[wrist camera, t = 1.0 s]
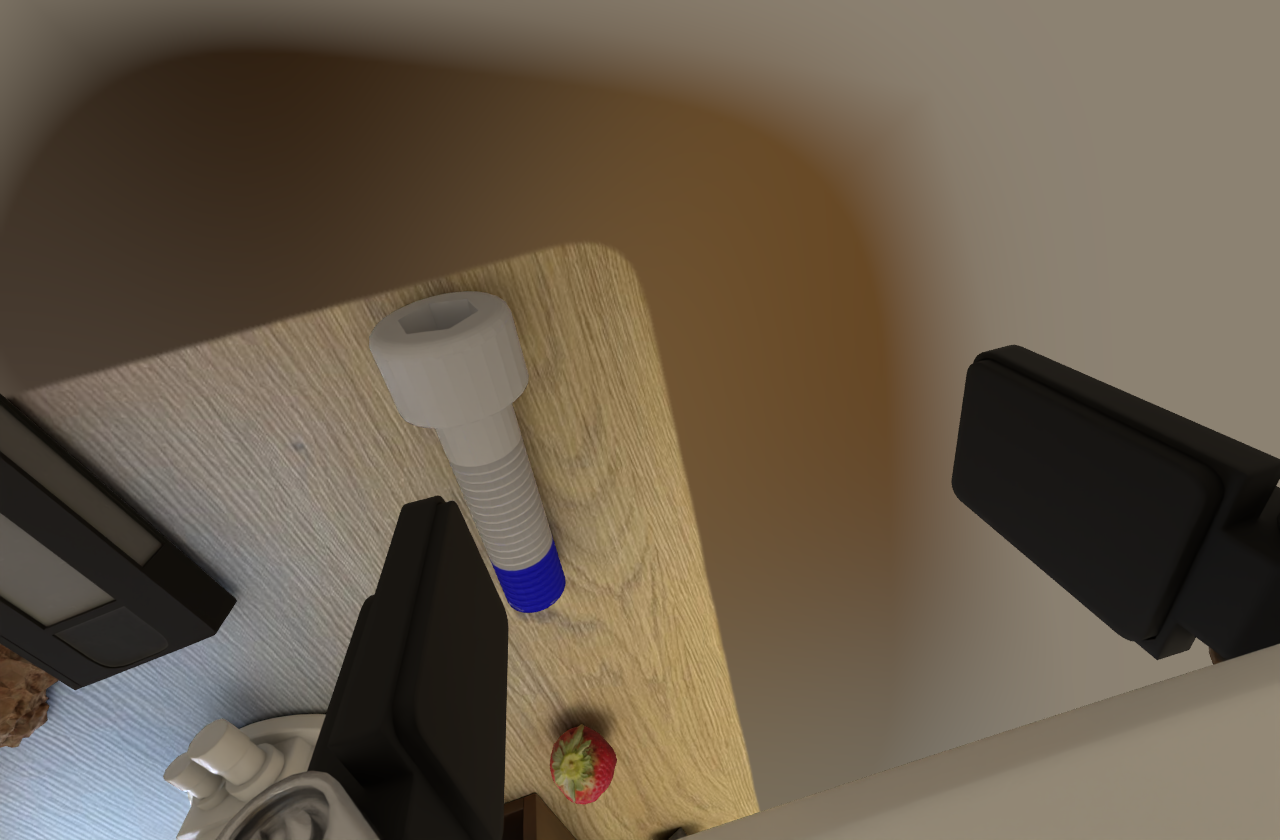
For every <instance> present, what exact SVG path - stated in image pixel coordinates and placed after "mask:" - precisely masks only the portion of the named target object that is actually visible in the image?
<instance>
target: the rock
mask: <svg viewBox="0 0 1280 840" xmlns="http://www.w3.org/2000/svg"><path fill="white" fill-rule="evenodd" d="M57 681H58V679H56V678H55V677H53V676H51V675H50V674H48V673H47V672H45V671H43V670H42V669H40V668H39V667H37V666H35V665H34V664H32V663H30V662H29V661H27V660H26V659H24V658H22V657H21V656H19V655H18V654H16V653H14V652H13V651H11V650H10V649H8V648H6V647H5V646H3V645H2V644H0V747H4V746H8V747H12V748H13V747H18V746H19V744H20V742H21V740H22V738H26V737H29V736H30V735H31V734H32V733H33V732H34V731H35V729H37V728H39V727H40V726H42V725H43V724H44V723H45V722H46V721H47V720H48V719H47V710H48V708H49V705H48V704H47V703H46V702H45V701H47V700H48V699H49V698H48V697H47V696H46V695H45V694H46V689H47V688H48V687H50V686H51V685H52V684H54V683H55V682H57Z"/></svg>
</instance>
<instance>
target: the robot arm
mask: <svg viewBox="0 0 1280 840" xmlns="http://www.w3.org/2000/svg"><path fill="white" fill-rule="evenodd" d="M1279 479H1280V459H1278V458H1276V457H1273V456H1271V455H1269V454H1267V453H1264V452H1262V451H1260V450H1257V449H1255V448H1252V447H1250V446H1248V445H1246V444H1244V443H1241V442H1239V441H1237V440H1235V439H1232V438H1230V437H1228V436H1225V435H1223V434H1220V433H1218V432H1216V431H1214V430H1212V429H1209V428H1207V427H1205V426H1202V425H1200V424H1198V423H1195V422H1193V421H1191V420H1189V419H1186V418H1184V417H1182V416H1179V415H1177V414H1175V413H1173V412H1170V411H1168V410H1166V409H1163V408H1161V407H1159V406H1156V405H1154V404H1152V403H1150V402H1147V401H1145V400H1143V399H1140V398H1138V397H1136V396H1134V395H1131V394H1129V393H1127V392H1124V391H1122V390H1120V389H1118V388H1115V387H1113V386H1111V385H1108V384H1106V383H1104V382H1101V381H1099V380H1097V379H1095V378H1092V377H1090V376H1088V375H1085V374H1083V373H1081V372H1079V371H1076V370H1074V369H1072V368H1069V367H1067V366H1065V365H1062V364H1060V363H1058V362H1056V361H1053V360H1051V359H1049V358H1046V357H1044V356H1042V355H1039V354H1037V353H1035V352H1033V351H1030V350H1028V349H1026V348H1023V347H1021V346H1017V345H1009V346H1005V347H1002V348H998V349H994V350H990V351H986V352H982V353H981V354H979V355H977V357H976V358H975V360H974V362H973V364H971V365H970V366H969V368H968V371H967V376H966V383H965V390H964V397H963V404H962V411H961V418H960V425H959V432H958V439H957V447H956V453H955V461H954V467H953V474H952V488H953V490H954V493H955V495H956V496H957V498H958V499H959V500H960V501H961V502H963V503H964V504H965V505H966V506H967V507H969V508H970V509H971V510H972V511H973V512H974V513H976V514H977V515H978V516H979V517H980V518H981V519H983V520H984V521H985V522H986V523H987V524H989V525H990V526H991V527H992V528H993V529H994V530H996V531H997V532H998V533H999V534H1000V535H1002V536H1003V537H1004V538H1005V539H1006V540H1007V541H1009V542H1010V543H1011V544H1012V545H1013V546H1014V547H1016V548H1017V549H1018V550H1019V551H1020V552H1022V553H1023V554H1024V555H1025V556H1026V557H1028V558H1029V559H1030V560H1031V561H1032V562H1033V563H1035V564H1036V565H1037V566H1038V567H1039V568H1040V569H1042V570H1043V571H1044V572H1045V573H1046V574H1048V575H1049V576H1050V577H1051V578H1053V580H1055V581H1056V582H1057V583H1058V584H1059V585H1061V586H1062V587H1063V588H1064V589H1065V590H1066V591H1068V592H1069V593H1070V594H1071V595H1072V596H1074V597H1075V598H1076V599H1077V600H1078V601H1079V602H1081V603H1082V604H1083V605H1084V606H1085V607H1087V608H1088V609H1089V610H1090V611H1091V612H1092V613H1094V614H1095V615H1096V616H1097V617H1098V618H1099V619H1101V620H1102V621H1103V622H1104V623H1106V624H1107V625H1108V626H1109V627H1110V628H1111V629H1112V630H1114V631H1115V632H1116V633H1117V634H1119V635H1120V636H1122V637H1123V638H1125V639H1127V640H1130V641H1135V642H1136V643H1137V644H1138V645H1140V646H1141V647H1142V648H1143V649H1144V650H1146V651H1147V652H1148V653H1149V654H1150V655H1152V656H1153V657H1154V658H1155V659H1156V660H1159V659H1162V658H1165V657H1168V656H1171V655H1174V654H1178V653H1181V652H1184V651H1187V650H1189V649H1190V648H1191V645H1192V643H1193V642H1194V640H1195V638H1196V637H1197V638H1198V639H1199V640H1201V641H1202V642H1203V643H1205V644H1206V645H1207V646H1209V654H1210V657H1211V660H1212V663H1213V665H1211V666H1208V667H1205V668H1202V669H1199V670H1195V671H1192V672H1189V673H1186V674H1183V675H1180V676H1177V677H1173V678H1170V679H1167V680H1164V681H1161V682H1158V683H1154V684H1151V685H1148V686H1145V687H1142V688H1139V689H1136V690H1132V691H1129V692H1126V693H1123V694H1120V695H1117V696H1114V697H1111V698H1107V699H1105V700H1101V701H1098V702H1095V703H1092V704H1089V705H1086V706H1083V707H1080V708H1076V709H1073V710H1071V711H1067V712H1064V713H1061V714H1058V715H1055V716H1052V717H1049V718H1046V719H1043V720H1039V721H1036V722H1033V723H1030V724H1027V725H1024V726H1021V727H1018V728H1015V729H1012V730H1008V731H1005V732H1002V733H999V734H996V735H993V736H990V737H987V738H984V739H981V740H978V741H975V742H972V743H969V744H965V745H962V746H959V747H956V748H953V749H950V750H947V751H944V752H941V753H938V754H935V755H932V756H929V757H926V758H922V759H919V760H916V761H913V762H910V763H907V764H904V765H901V766H898V767H895V768H892V769H889V770H885V771H882V772H879V773H877V774H873V775H870V776H868V777H864V778H861V779H859V780H855V781H852V782H849V783H846V784H843V785H840V786H837V787H834V788H831V789H828V790H825V791H822V792H819V793H816V794H813V795H810V796H807V797H804V798H801V799H798V800H795V801H792V802H789V803H786V804H783V805H780V806H777V807H774V808H770V809H767V810H764V811H761V812H758V813H755V814H752V815H749V816H746V817H743V818H740V819H737V820H734V821H731V822H728V823H725V824H722V825H719V826H716V827H713V828H710V829H707V830H704V831H701V832H698V833H695V834H692V835H689V836H686V837H683V838H680V839H677V840H1280V488H1279V487H1277V486H1276V485H1277V483H1278V481H1279ZM507 666H508V619H507V614H506V611H505V608H504V605H503V603H502V601H501V599H500V597H499V594H498V592H497V590H496V588H495V586H494V584H493V581H492V579H491V577H490V575H489V573H488V570H487V568H486V566H485V564H484V562H483V559H482V557H481V555H480V553H479V551H478V548H477V546H476V544H475V542H474V540H473V537H472V535H471V533H470V531H469V529H468V526H467V524H466V522H465V520H464V518H463V515H462V513H461V511H460V509H459V507H458V505H457V503H456V502H455V501H449V502H445V501H444V499H443V498H442V497H441V496H434V497H430V498H427V499H423V500H419V501H415V502H411V503H408V504H405V505H403V507H402V509H401V512H400V515H399V519H398V522H397V525H396V528H395V531H394V534H393V538H392V541H391V544H390V547H389V550H388V554H387V557H386V560H385V563H384V566H383V569H382V573H381V576H380V579H379V582H378V585H377V589H376V592H375V595H371V596H370V597H368V598H367V599H366V600H365V602H364V604H363V606H362V608H361V611H360V614H359V617H358V620H357V623H356V626H355V629H354V632H353V635H352V638H351V641H350V644H349V647H348V650H347V653H346V656H345V659H344V662H343V665H342V668H341V671H340V674H339V677H338V680H337V683H336V686H335V689H334V692H333V695H332V698H331V701H330V704H329V707H328V710H327V713H326V714H300V715H290V716H283V717H276V718H271V719H268V720H264V721H260V722H256V723H253V724H250V725H248V726H245V727H243V728H240V729H238V728H236V727H235V726H234V725H232V724H231V723H230V722H228V721H227V720H225V719H223V718H222V719H218V720H215V721H213V722H211V723H210V724H208V725H207V726H205V727H204V728H203V729H202V730H201V731H200V732H199V733H198V734H197V735H196V736H195V737H194V739H193V740H192V742H191V743H190V745H189V748H188V751H187V752H185V753H183V754H182V755H180V756H178V757H177V758H176V759H175V760H174V761H173V762H171V764H170V765H169V766H168V768H167V769H166V770H165V773H164V776H163V777H164V779H165V781H167V782H168V783H170V784H172V785H173V786H175V787H177V788H178V789H180V790H181V791H186V792H188V798H189V801H190V803H191V808H190V810H189V812H188V814H187V816H186V818H185V820H184V823H183V825H182V827H181V829H180V831H179V833H178V835H177V837H176V838H177V839H178V840H502V835H503V824H504V784H505V745H506V705H507Z"/></svg>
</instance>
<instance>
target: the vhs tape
mask: <svg viewBox="0 0 1280 840" xmlns="http://www.w3.org/2000/svg"><path fill="white" fill-rule="evenodd" d="M236 602H237V600H236V599H235V598H234V597H233V596H232V595H231V594H230V593H229V592H227V591H226V590H225V589H224V588H223V587H222V586H221V585H219V584H218V583H217V582H216V581H215V580H214V579H212V578H211V577H210V576H209V575H208V574H207V573H206V572H204V571H203V570H202V569H201V568H200V567H199V566H198V565H196V564H195V563H194V562H193V561H192V560H191V559H190V558H188V557H187V556H186V555H185V554H184V553H183V552H181V551H180V550H179V549H178V548H177V547H176V546H175V545H173V544H172V543H171V542H170V541H169V540H168V539H167V538H165V537H164V536H163V535H162V534H161V533H160V532H159V531H157V530H156V529H155V528H154V527H153V526H152V525H150V524H149V523H148V522H147V521H146V520H145V519H144V518H142V517H141V516H140V515H139V514H138V513H137V512H136V511H134V510H133V509H132V508H131V507H130V506H129V505H128V504H126V503H125V502H124V501H123V500H122V499H121V498H120V497H118V496H117V495H116V494H115V493H114V492H113V491H111V490H110V489H109V488H108V487H107V486H106V485H105V484H103V483H102V482H101V481H100V480H99V479H98V478H97V477H95V476H94V475H93V474H92V473H91V472H90V471H89V470H87V469H86V468H85V467H84V466H83V465H82V464H80V463H79V462H78V461H77V460H76V459H75V458H74V457H72V456H71V455H70V454H69V453H68V452H67V451H66V450H64V449H63V448H62V447H61V446H60V445H59V444H58V443H56V442H55V441H54V440H53V439H52V438H51V437H50V436H48V435H47V434H46V433H45V432H44V431H43V430H41V429H40V428H39V427H38V426H37V425H36V424H35V423H33V422H32V421H31V420H30V419H29V418H28V417H27V416H25V415H24V414H23V413H22V412H21V411H20V410H19V409H17V408H16V407H15V406H14V405H13V404H12V403H10V402H9V401H8V400H7V399H6V398H5V397H4V396H2V395H1V394H0V644H2V645H3V646H5V647H6V648H8V649H10V650H11V651H13V652H14V653H16V654H18V655H19V656H21V657H22V658H24V659H26V660H27V661H29V662H30V663H32V664H34V665H35V666H37V667H39V668H40V669H42V670H43V671H45V672H47V673H48V674H50V675H51V676H53V677H55V678H56V679H58V680H59V681H61V682H63V683H64V684H66V685H67V686H69V687H71V688H72V689H74V690H77V689H79V688H82V687H85V686H87V685H90V684H93V683H95V682H98V681H100V680H103V679H106V678H108V677H111V676H113V675H116V674H118V673H121V672H123V671H126V670H128V669H131V668H134V667H136V666H139V665H141V664H144V663H146V662H149V661H151V660H154V659H156V658H159V657H161V656H164V655H166V654H169V653H172V652H174V651H177V650H179V649H182V648H184V647H187V646H189V645H192V644H194V643H197V642H199V641H201V640H204V639H206V638H209V637H211V636H214V635H215V634H216V633H217V631H218V630H219V628H220V626H221V625H222V623H223V622H224V620H225V619H226V617H227V616H228V614H229V613H230V611H231V610H232V608H233V607H234V605H235V604H236Z"/></svg>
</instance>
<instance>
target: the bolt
mask: <svg viewBox="0 0 1280 840" xmlns="http://www.w3.org/2000/svg"><path fill="white" fill-rule="evenodd" d="M369 348H370V351H371V353H372V355H373V357H374V359H375V361H376V364H377V366H378V368H379V370H380V372H381V375H382V377H383V379H384V381H385V383H386V385H387V388H388V390H389V392H390V394H391V396H392V398H393V401H394V403H395V405H396V407H397V409H398V412H399V414H400V415H401V417H402V418H403V419H404V420H405V421H406V422H408V423H410V424H412V425H415V426H419V427H423V428H435V430H436V432H437V435H438V437H439V440H440V442H441V444H442V447H443V449H444V451H445V454H446V456H447V458H448V459H449V463H450V466H451V467H452V469H453V473H454V475H455V476H456V479H457V482H458V484H459V486H460V489H461V491H462V493H463V496H464V499H465V500H466V503H467V506H468V507H469V510H470V513H471V515H472V517H473V520H474V522H475V524H476V528H477V529H478V532H479V535H480V536H481V539H482V542H483V543H484V546H485V549H486V550H487V554H488V556H489V558H490V561H491V562H492V565H493V568H494V569H495V573H496V575H497V577H498V580H499V581H500V585H501V587H502V589H503V592H504V593H505V596H506V598H507V601H508V603H509V604H510V606H511V607H512V608H514V609H515V610H517V611H520V612H523V613H533V612H538V611H541V610H544V609H546V608H548V607H549V606H551V605H552V604H554V603H555V602H556V601H557V600H558V599H559V598H560V596H561V594H562V593H563V591H564V588H565V584H566V583H565V576H564V572H563V570H562V566H561V563H560V559H559V557H558V553H557V549H556V546H555V543H554V540H553V536H552V533H551V529H550V527H549V523H548V520H547V516H546V514H545V510H544V507H543V505H542V500H541V498H540V494H539V491H538V487H537V485H536V480H535V478H534V476H533V471H532V469H531V464H530V462H529V457H528V455H527V452H526V448H525V445H524V443H523V438H522V436H521V431H520V428H519V425H518V421H517V418H516V415H515V411H514V408H513V405H512V403H513V402H514V401H515V400H516V399H517V398H518V397H519V396H520V395H521V394H522V393H523V392H524V390H525V388H526V386H527V384H528V378H529V375H528V371H527V367H526V364H525V360H524V356H523V353H522V349H521V345H520V342H519V338H518V334H517V331H516V327H515V323H514V320H513V316H512V312H511V310H510V308H509V306H508V305H507V303H506V302H505V301H504V300H502V299H501V298H499V297H498V296H495V295H492V294H489V293H485V292H477V291H464V292H453V293H447V294H441V295H436V296H432V297H428V298H425V299H422V300H419V301H416V302H413V303H411V304H408V305H406V306H404V307H402V308H400V309H398V310H396V311H394V312H392V313H391V314H389V315H387V316H386V317H384V318H383V319H382V320H381V321H380V322H379V323H378V324H377V325H376V326H375V327H374V329H373V331H372V332H371V334H370V337H369Z"/></svg>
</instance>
